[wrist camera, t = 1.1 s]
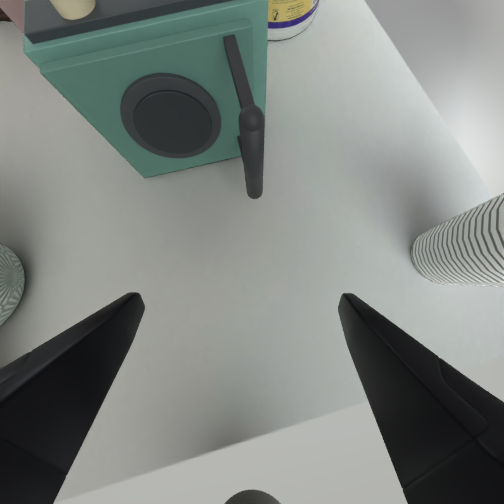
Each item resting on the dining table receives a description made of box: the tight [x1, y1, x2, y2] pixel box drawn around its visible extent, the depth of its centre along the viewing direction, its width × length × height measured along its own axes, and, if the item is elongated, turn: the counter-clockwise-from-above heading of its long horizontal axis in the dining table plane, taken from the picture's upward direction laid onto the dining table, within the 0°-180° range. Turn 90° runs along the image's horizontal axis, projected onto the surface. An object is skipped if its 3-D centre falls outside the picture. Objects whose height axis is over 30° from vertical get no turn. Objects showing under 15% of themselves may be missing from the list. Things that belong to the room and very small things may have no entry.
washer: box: [24, 0, 269, 129], centre depth 20 cm, size 12×16×14 cm
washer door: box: [40, 18, 265, 199], centre depth 18 cm, size 8×14×12 cm, turn 103°
